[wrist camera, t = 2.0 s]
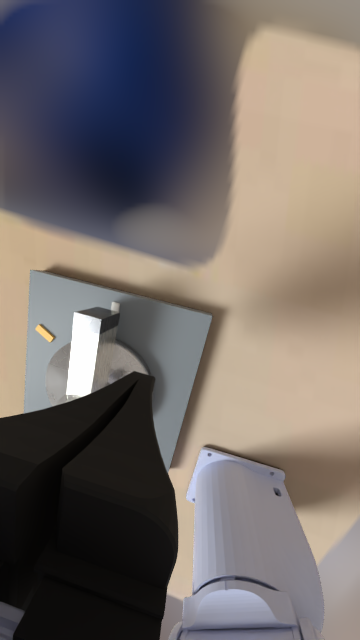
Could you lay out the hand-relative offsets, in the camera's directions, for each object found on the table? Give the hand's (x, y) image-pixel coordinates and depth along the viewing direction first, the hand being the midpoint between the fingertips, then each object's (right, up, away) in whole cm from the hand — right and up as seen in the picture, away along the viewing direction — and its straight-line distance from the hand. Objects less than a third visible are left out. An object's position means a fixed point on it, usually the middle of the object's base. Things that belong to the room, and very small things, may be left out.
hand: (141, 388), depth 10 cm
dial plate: (-6, -3, +10) cm, 12 cm away
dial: (-6, -1, +8) cm, 10 cm away
